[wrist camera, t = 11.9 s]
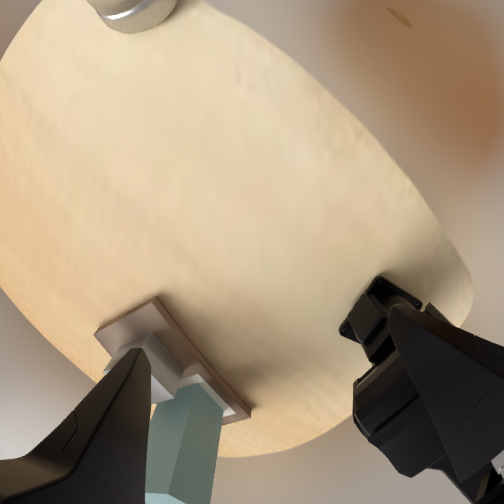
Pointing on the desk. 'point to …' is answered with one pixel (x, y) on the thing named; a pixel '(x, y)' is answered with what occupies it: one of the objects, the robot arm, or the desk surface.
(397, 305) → the robot arm
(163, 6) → the silver ribbed bottle
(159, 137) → the desk surface
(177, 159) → the desk surface
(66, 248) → the desk surface
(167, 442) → the pillar block
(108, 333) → the base plate
